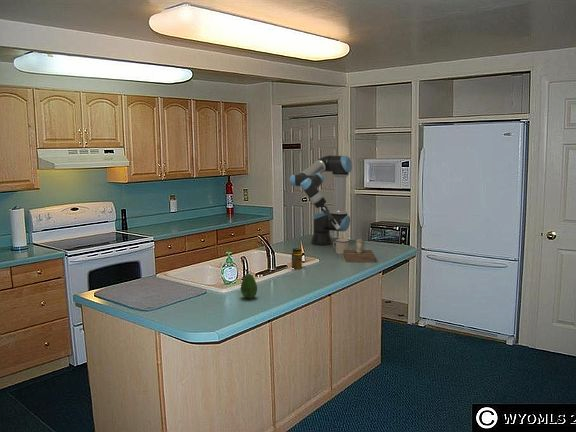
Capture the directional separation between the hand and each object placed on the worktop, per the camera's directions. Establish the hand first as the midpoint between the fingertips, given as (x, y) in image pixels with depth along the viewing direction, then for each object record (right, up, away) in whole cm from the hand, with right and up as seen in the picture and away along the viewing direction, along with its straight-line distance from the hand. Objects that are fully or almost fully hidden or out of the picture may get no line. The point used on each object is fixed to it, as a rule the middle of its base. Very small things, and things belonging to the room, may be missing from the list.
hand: (337, 226), depth 332 cm
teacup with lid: (+4, -18, +19) cm, 26 cm away
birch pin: (+14, -21, -1) cm, 25 cm away
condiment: (-27, -25, -25) cm, 44 cm away
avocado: (-51, -33, -82) cm, 102 cm away
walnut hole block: (+14, -21, 0) cm, 25 cm away
